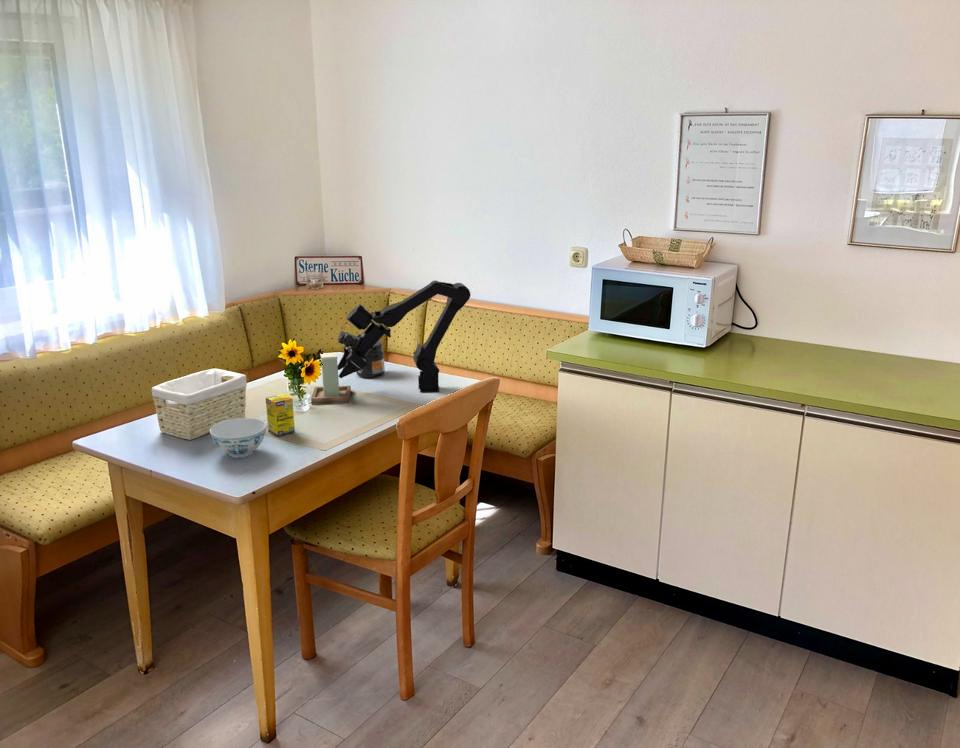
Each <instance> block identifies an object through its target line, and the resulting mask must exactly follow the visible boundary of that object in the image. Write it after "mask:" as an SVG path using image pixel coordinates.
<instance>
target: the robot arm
mask: <svg viewBox="0 0 960 748" xmlns="http://www.w3.org/2000/svg"><path fill="white" fill-rule="evenodd" d="M438 295H440V296H443V297H446V303H445V307H443V310H442V312H441V314H440V315H439V317H438V319H437V321H436V323H435V324H434V327H433V328H432V330H431V331H430V334H429V336H428V338H427V339H426V341H425V342H424V343H423V344H421V343H418V344H417V346H416V349H415V350H414V351H413V362H414V364H415V366H416V368H417V369H418V370H419V375H418V376H417V378H418V390H419V392H420V393H439V392H440V387H439V386H440V385H439V373H440V369H439V367H438V365H437V364H436V362H435V361H436V360H435V359H436V357H437V351H438V347H439V345H440V343H441V342H442V340H443V339H444V337H445V334H446V333H447V331H448V330H449V327H450V326H451V323H452V322H453V320H454V318H455V317H456V314H457V313H458V312H459V311H460V310H461V309H463V308H464V306H465V305H466V304H467V302H468V301H469V300H470V298H471V296H472V295H471V291H470V289H469V288H468V287H467V286H466V285H465V284H464V283H462V282H455V283H450V282H445V281H443V282H442V281H438V280H432V281H430V283H428V284H427V285H425V286H424V287H422V288H421V289H418V290H417V291H416V292H414V293H412V294H411V295H409V296H407V297H406V298H404V299H403V300H401V301H399V302H396V303H392V304H388V305H387V306H384V307H382V309H380V310H377V311H373V312H369V310H367V309H366V308H365V307H364V305H362V304H361V303H359V304H358V305H357V306H355V307H354V308H352V309H351V311H349V313H348V314H347V316H346V320H347V321H348V323H350V324H352V326H354V327H355V328H356V329H358V330H359V331H361V330H364V331H363V332H362V333H358V334H357V336H356V335H354V334H351V333H348V332H346V331H342V330H340V332H339V334H338V338H337V342H338V343H339V344H340V345H343V347H342V348H343V354H342V357H341V358H340V360H339V362H338V363H337V364H338V371H340V370H341V371H340V373H338V378H340V379H343V378H344V377H345V378H346V377H347V376H349V375H352V374H353V373H356V372H357V371H359V370H361V369H362V370H363V369H364V368H365V367H366V366H367V365H366V360H365V358H366V355H367V354H368V353H369V351H370V350H371V349H372V350H373V349H374V348H375V347H374V346H375V345H376V344H377V342H378V341H380V340H381V339H382V338H383V337H384V336H386V337H388V338H390V339H391V338H392V337H391V328H392V327H395V326H396V325H398V324H399V322H401V321H402V320H403V319H404V317H405V316H406V315H407V314H408V313H411V311H413V310H415V309H416V308H417V307H419V306H421V305H422V304H424V303H425V302H427V301H429V300H430V299H432V298H434V297H436V296H438Z"/></svg>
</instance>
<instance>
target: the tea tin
mask: <svg viewBox="0 0 960 748" xmlns="http://www.w3.org/2000/svg"><path fill="white" fill-rule="evenodd" d="M321 353H323V354H321ZM321 353H319V354H320V362H321V361H322V364H323V365H322V364H321V376H322V377H321V378H322V386H323V393H324V397H337V396H339V386H340V383H339V382H340V381H339V370H338V364H339V363H338V354H337V352H335V351H334V352H321Z"/></svg>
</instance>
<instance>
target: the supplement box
mask: <svg viewBox="0 0 960 748" xmlns="http://www.w3.org/2000/svg"><path fill="white" fill-rule="evenodd" d="M265 404H266V407H265V408H266V418H267V419H266V420H267V430H268V432H269V433H270V434H272V435H273V436H275V437H277V438H278V437H281V436H286V435H288V433H289V434H293V433H296V431H295V430H296V428H295V416H294V402H293V397H291V396H289V395H287V394H285V393H281V394H277V395H272V396H266V397H265Z"/></svg>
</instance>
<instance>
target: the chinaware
mask: <svg viewBox="0 0 960 748" xmlns="http://www.w3.org/2000/svg"><path fill="white" fill-rule="evenodd" d="M266 432H267V423H266V422H265V421H264V420H261V419H259V418H255V417H245V418H237V419H231V420H226V421H223V422H220V423H218V424H216V425H214V426H213V427H212V428H211V429H210V433H209V434H210V436H211V439H212V440H213V442H214V444H215V445H216V447H218V448H219V449H220V450H221V451H222V452H224V453H227V454H228V456H229V457H230V456H232V457H231V458H233V457H242V458H246V457H245V456H247V457H249V456H251V455H252V454H253V453H254V450H256V449H257V448H258V447H259V446H260V445H261V443H262V442H263V440H264V439H265V436H266ZM250 454H251V455H250ZM248 455H249V456H248Z"/></svg>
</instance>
